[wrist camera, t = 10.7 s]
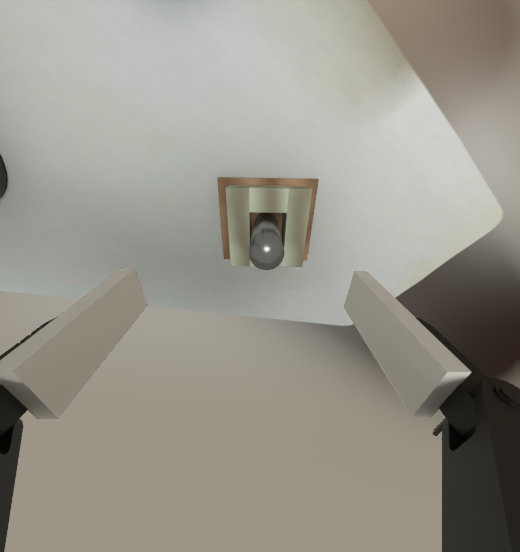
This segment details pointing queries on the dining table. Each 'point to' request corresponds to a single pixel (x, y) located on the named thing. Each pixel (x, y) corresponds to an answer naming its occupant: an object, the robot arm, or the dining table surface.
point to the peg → (266, 242)
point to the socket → (266, 199)
